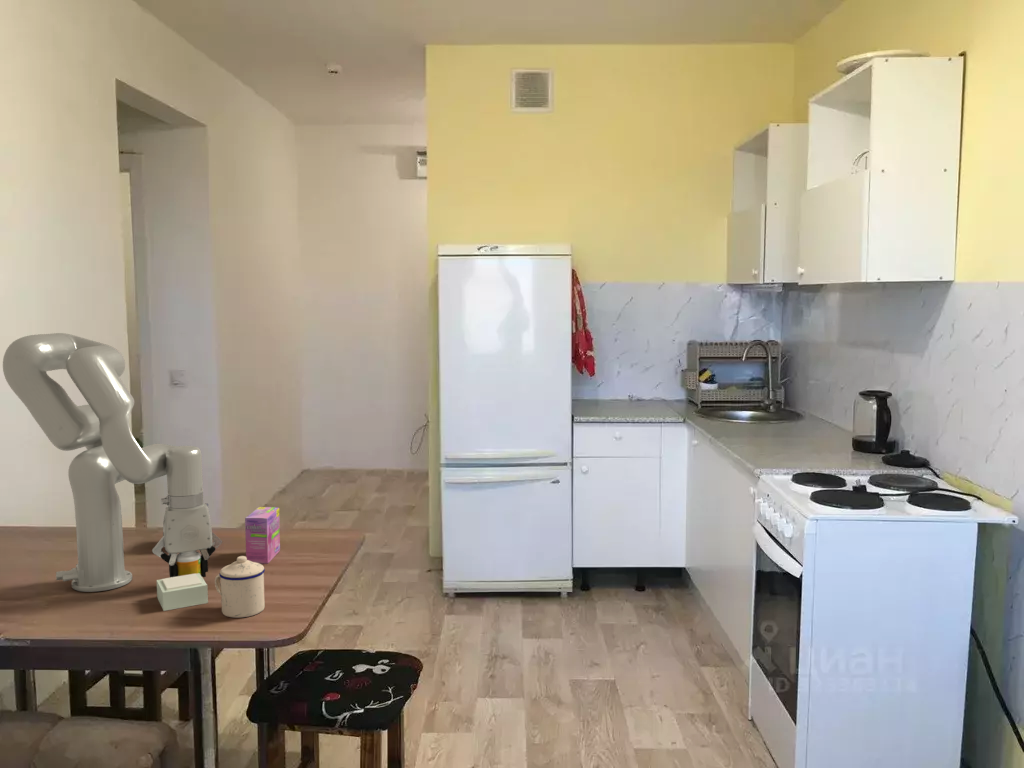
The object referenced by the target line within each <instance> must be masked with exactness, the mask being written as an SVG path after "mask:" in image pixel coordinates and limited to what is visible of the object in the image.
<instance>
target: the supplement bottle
mask: <svg viewBox="0 0 1024 768" xmlns="http://www.w3.org/2000/svg"><path fill="white" fill-rule="evenodd" d="M175 561H176V564H177V571H178V576H183V575H189V574H195V573H196V574H197V573H200V575H201V552H200V551H198V550H196V551H190V552H183V553H178V554H177V557H176V560H175ZM201 576H202V575H201Z"/></svg>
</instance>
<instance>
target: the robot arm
mask: <svg viewBox="0 0 1024 768" xmlns="http://www.w3.org/2000/svg"><path fill="white" fill-rule="evenodd" d="M125 369H126V362H125V358H124V356H123V354H122V353H121V352H120V350H118V349H117V348H115V347H114V346H113V345H112V346H111V345H109V344H105V343H102V342H99V341H94V340H93V339H92V340H91V339H89V338H84V337H81V336H78V335H73V334H69V333H64V332H57V333H55V332H54V333H53V332H52V333H43V334H42V333H41V334H30V335H25V336H22V337H20V338H17V339H15V340H14V341H12V342H11V343H10V344H9V346H8V347H7V348H6V350H5V352H4V355H3V359H2V373H3V375H4V379H5V381H6V383H7V385H8V386H9V388H10V389H11V390H12V391H13V393H14V394H15V395H16V396H17V398H18V399H20V401H21V403H23V405H24V406H25V407H26V409H27V410H28V412H29V413H30V415H31V416H32V417H33V419H34V421H35V422H36V423H37V424H38V426H39V427H40V429H41V430H42V432H43V433H44V434H45V436H46V437H47V438H48V440H49V442H51V444H52V445H53V446H54V447H55V448H57V449H58V450H60V451H65V452H66V451H67V452H68V451H75V450H77V449H81V448H86V450H84V451H82V452H80V453H79V454H77V455H76V456H75V457H73V459H71V462H70V464H69V467H68V472H67V473H68V474H67V475H68V481H69V486H70V488H71V493H72V497H73V503H74V516H75V517H74V518H75V531H76V546H77V547H76V548H77V563H76V564H75V567H72V568H71V570H60V571H56V572H55V580H56V581H61V580H62V582H64V583H65V582H69V581H71V588H72V589H73V590H75V591H77V592H86V593H87V592H88V593H89V592H90V593H91V592H92V593H93V592H94V593H95V592H102V591H110V590H115V589H117V588H120V587H123V586H126V585H127V584H129V583H130V582H131V581H132V580H133V573H132V572H131V571H129V570H126V569H125V554H124V553H125V550H124V534H123V532H124V531H123V530H124V529H123V517H122V516H123V514H122V512H123V511H122V504H121V498H120V496H119V494H118V491H117V488H116V484H118V483H121V482H122V481H127V482H129V483H131V484H133V485H135V484H136V485H141V484H145V483H148V482H151V481H153V480H155V479H158V478H160V477H164V476H166V485H167V494H166V496H165V497H163V498H161V499H160V503H161V505H166V506H167V507H165V509H164V513H163V514H164V515H163V522H162V523H163V527H162V532H163V533H162V537H161V538H160V539H159V541H158V542H157V543H156V544H155V546H154V547H153V548H152V550H151V551H152V554H154V555H155V556H157V557H159V558H160V559H162V560H163V561H164V562H165V563H167V564H168V571H169V575H168V576H169V578H171V577H177V576H178V571H177V564H176V557H177V555H178V554H179V553H183V552H190V551H199V553H200V555H201V575H202V578H206V577H207V574H206V573H209V561H208V560H209V559H210V557H211V556H212V555H213V553H215V551H216V550H217V549H218V548H219V547H220V546H221V545H222V544H223V541H222V540H221V538H220V537H218V536H217V534H215V533H214V532H213V531H212V521H211V515H210V510H209V505H208V506H207V504H208V503H206V504H205V502H204V483H203V482H204V480H203V479H204V478H203V476H204V475H203V454H202V451H201V449H200V447H198V446H195V445H180V446H175V445H171V444H165V443H153V444H149V445H147V446H143V447H141V446H140V445H139V443H138V442H137V440H136V438H135V437H134V435H133V433H132V431H131V427H130V415H131V413H132V411H133V408H134V407H135V399H134V397H133V395H132V394H131V393H130V391H129V389H128V388H127V386H126V385H125V384H124V382H123V380H121V378H120V377H121V376H122V375H123V374H124V372H125ZM56 370H57V371H58V370H66V371H67V374H68V376H69V377H70V379H71V380H72V381H73V383H74V385H75V386H76V388H77V389H78V391H79V392H80V394H81V395H82V396H83V398H84V400H85V401H86V402H87V404H83V405H79V406H78V405H77V404H76V403H75V402H74V401H73V400H72V398H71V397H70V396H69V394H68V393H67V391H66V390H65V388H63V386H61V385H60V384H59V382H57V381H56V380H54V378H52V377H50V376H49V374H48V373H47V372H50V371H56ZM163 548H164V549H165V552H163V550H162V549H163ZM167 553H168V554H167Z"/></svg>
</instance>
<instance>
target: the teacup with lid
mask: <svg viewBox="0 0 1024 768" xmlns="http://www.w3.org/2000/svg"><path fill="white" fill-rule="evenodd" d="M265 571H266V570H265V567H264V564H259V563H256V562H252V561H249V560H247V558H246V555H240V556H237V558H236V561H234V562H232V563H231V564H228V565H225V566H223V567H222V568H221V569H220V571H219V573H218V574H217V575H216V576H215V578H214V586H215V589H216V591H217V593H218V594H219V595H220V596H221V613H222V615H224V616H225V617H229V618H238V619H239V618H248V617H252V616H255V615H259V614H260V613H262V612H263V611H264V609H265V605H266V604H265V603H266V602H265Z"/></svg>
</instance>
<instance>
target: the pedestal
mask: <svg viewBox="0 0 1024 768" xmlns="http://www.w3.org/2000/svg"><path fill="white" fill-rule="evenodd" d="M208 589H209V588H208V584H207V583H206V581H205V579H204V577H202V576H201V575H200V573H197V574H196V573H195V574H189V575H183V576H177V577H171V578H170V577H166V578H161V579H156V595H157V596H156V597H157V600H158V602H159V604H160V606H161V608H162V611H163V612H165V611H171V610H175V609H176V610H178V609H183V608H186V607H187V608H188V607H194V606H197V605H205V604H208V603H209V596H208V595H209V592H208Z"/></svg>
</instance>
